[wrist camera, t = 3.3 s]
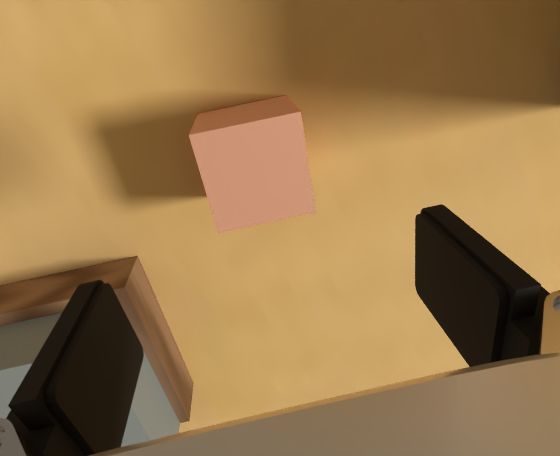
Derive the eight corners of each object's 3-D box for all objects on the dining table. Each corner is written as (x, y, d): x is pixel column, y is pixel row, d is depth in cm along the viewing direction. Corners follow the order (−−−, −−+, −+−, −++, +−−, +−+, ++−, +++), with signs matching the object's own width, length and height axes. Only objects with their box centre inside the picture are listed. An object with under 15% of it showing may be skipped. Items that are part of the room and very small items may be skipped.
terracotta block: (285, 95, 25) (300, 111, 19) (299, 178, 27) (315, 212, 22) (197, 113, 24) (188, 135, 19) (220, 195, 27) (217, 233, 22)
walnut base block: (139, 252, 29) (124, 287, 25) (193, 378, 36) (189, 420, 32) (1, 283, 29) (-35, 322, 25) (83, 403, 36) (65, 449, 32)
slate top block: (117, 300, 26) (96, 349, 22) (179, 422, 32) (172, 476, 28) (-25, 331, 25) (-72, 386, 21) (67, 447, 32) (44, 505, 28)
